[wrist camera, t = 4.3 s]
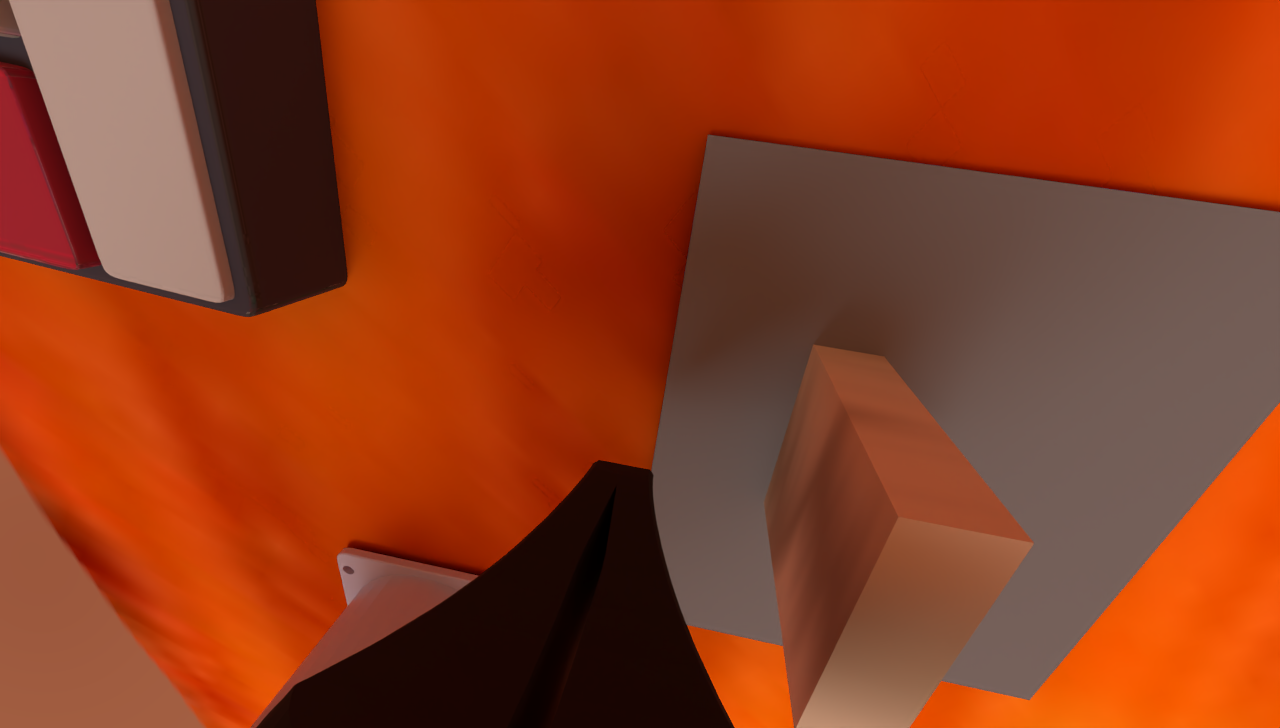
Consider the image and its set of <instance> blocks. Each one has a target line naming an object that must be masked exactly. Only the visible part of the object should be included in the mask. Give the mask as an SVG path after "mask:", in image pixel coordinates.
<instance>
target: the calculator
mask: <svg viewBox="0 0 1280 728" xmlns="http://www.w3.org/2000/svg"><path fill="white" fill-rule="evenodd" d="M0 256H3V257H7V258H11V259H15V260H19V261H23V262H27V263H31V264H35V265H39V266H43V267H47V268H51V269H55V270H59V271H63V272H67V273H71V274H75V275H79V276H83V277H87V278H91V279H95V280H99V281H103V282H107V283H111V284H115V285H119V286H123V287H127V288H131V289H135V290H139V291H143V292H147V293H151V294H155V295H159V296H163V297H167V298H171V299H175V300H179V301H183V302H187V303H191V304H195V305H199V306H203V307H207V308H211V309H215V310H219V311H223V312H227V313H231V314H235V315H239V316H244V317H251V316H255V315H258V314H262V313H265V312H268V311H271V310H274V309H277V308H280V307H283V306H286V305H289V304H292V303H295V302H298V301H301V300H304V299H307V298H310V297H313V296H316V295H319V294H322V293H325V292H328V291H330V290H333V289H336V288H339V287H342V286H344V285H345V284H346V282H347V267H346V258H345V250H344V241H343V232H342V224H341V215H340V206H339V198H338V189H337V181H336V172H335V163H334V155H333V146H332V137H331V129H330V120H329V111H328V103H327V94H326V86H325V77H324V68H323V60H322V51H321V42H320V34H319V25H318V17H317V8H316V0H0Z"/></svg>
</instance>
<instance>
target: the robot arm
mask: <svg viewBox="0 0 1280 728" xmlns="http://www.w3.org/2000/svg"><path fill="white" fill-rule="evenodd" d="M653 476H654V475H653V473H652V472H651V471H650V470H648V469H643V468H637V467H632V466H627V465H622V464H617V463H611V462H606V461H601V460H598V461H597V462H595V463H594V464H593V465H592V466H591V468H590V469H589V471H588V472H587V473H586V474H585V476H584V477H583V478H582V479H581V481H580V482H579V483H578V484H577V485H576V486H575V488H574V489H573V490H572V491H571V492H570V493H569V494H568V496H567V497H566V498H565V499H564V500H563V501H562V502H561V503H560V504H559V505H558V506H557V507H556V508H555V509H554V510H553V511H552V512H551V513H550V514H549V516H548V517H547V518H546V519H544V520H543V521H542V522H541V523H540V524H539V525H538V526H537V527H536V528H535V529H534V530H533V531H532V532H531V533H530V534H528V535H527V536H526V537H525V538H524V539H523V540H522V541H521V542H520V543H519V544H518V545H516V546H515V547H514V548H513V549H512V550H511V551H509V552H508V553H507V554H506V555H505V556H503V557H502V558H501V559H500V560H499V561H497V562H496V563H495V564H493V565H492V566H491V567H490V568H488V569H487V570H486V571H485V572H483V573H482V574H481V575H479V576H478V575H474V574H469V573H465V572H460V571H456V570H451V569H446V568H442V567H437V566H433V565H428V564H424V563H419V562H414V561H410V560H405V559H401V558H396V557H392V556H387V555H382V554H378V553H373V552H369V551H364V550H360V549H355V548H344V549H343V550H342V551H341V552H340V553H339V554H338V556H337V561H338V566H339V570H340V575H341V579H342V583H343V588H344V592H345V597H346V601H347V608H346V609H345V610H344V611H343V613H342V614H341V615H340V616H339V618H338V619H337V620H336V621H335V623H334V624H333V625H332V626H331V628H330V629H329V630H328V631H327V633H326V634H325V635H324V636H323V638H322V639H321V640H320V641H319V643H318V644H317V645H316V646H315V648H314V649H313V650H312V651H311V653H310V654H309V655H308V656H307V658H306V659H305V660H304V661H303V663H302V664H301V665H300V666H299V668H298V669H297V670H296V671H295V673H294V674H293V675H292V676H291V678H290V679H289V680H288V681H287V683H286V684H285V685H284V686H283V688H282V689H281V690H280V691H279V692H278V694H277V695H276V696H275V697H274V699H273V700H272V701H271V702H270V704H269V705H268V706H267V707H266V709H265V710H264V711H263V712H262V714H261V715H260V716H259V717H258V719H257V720H256V721H255V722H254V724H253V725H252V726H251V727H250V728H734V726H733V724H732V722H731V720H730V718H729V716H728V714H727V712H726V710H725V709H724V707H723V705H722V703H721V701H720V699H719V697H718V695H717V692H716V690H715V688H714V686H713V684H712V682H711V680H710V677H709V675H708V673H707V671H706V669H705V667H704V664H703V662H702V660H701V658H700V656H699V654H698V652H697V649H696V647H695V645H694V642H693V640H692V637H691V635H690V632H689V630H688V627H687V625H686V622H685V619H684V617H683V614H682V611H681V609H680V606H679V603H678V600H677V597H676V594H675V591H674V588H673V585H672V582H671V579H670V575H669V572H668V568H667V565H666V561H665V557H664V553H663V549H662V545H661V540H660V536H659V531H658V526H657V521H656V515H655V508H654V499H653Z"/></svg>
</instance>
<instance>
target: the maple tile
mask: <svg viewBox="0 0 1280 728" xmlns="http://www.w3.org/2000/svg"><path fill="white" fill-rule="evenodd" d="M764 508H765V515H766V523H767V530H768V538H769V545H770V552H771V560H772V567H773V574H774V582H775V589H776V597H777V604H778V611H779V619H780V626H781V633H782V641H783V648H784V656H785V663H786V670H787V678H788V685H789V693H790V700H791V707H792V715H793V722H794V728H909V727H910V726H911V724H912V723H913V722H914V720H915V719H916V717H917V716H918V714H919V713H920V711H921V710H922V708H923V707H924V705H925V704H926V702H927V701H928V699H929V698H930V696H931V695H932V693H933V692H934V691H935V689H936V688H937V686H938V685H939V683H940V682H941V680H942V679H943V677H944V676H945V674H946V673H947V671H948V670H949V668H950V667H951V665H952V664H953V663H954V661H955V660H956V658H957V657H958V655H959V654H960V652H961V651H962V649H963V648H964V646H965V645H966V643H967V642H968V640H969V639H970V637H971V636H972V634H973V633H974V632H975V630H976V629H977V627H978V626H979V624H980V623H981V621H982V620H983V618H984V617H985V615H986V614H987V612H988V611H989V609H990V608H991V606H992V605H993V603H994V602H995V601H996V599H997V598H998V596H999V595H1000V593H1001V592H1002V590H1003V589H1004V587H1005V586H1006V584H1007V583H1008V581H1009V580H1010V578H1011V577H1012V575H1013V574H1014V572H1015V571H1016V570H1017V568H1018V567H1019V565H1020V564H1021V562H1022V561H1023V559H1024V558H1025V556H1026V555H1027V553H1028V552H1029V550H1030V549H1031V547H1032V546H1033V544H1034V542H1033V541H1032V540H1031V539H1030V537H1029V536H1028V535H1027V534H1026V532H1025V531H1024V530H1023V529H1022V527H1021V526H1020V525H1019V524H1018V522H1017V521H1016V520H1015V519H1014V517H1013V516H1012V515H1011V514H1010V512H1009V511H1008V510H1007V509H1006V507H1005V506H1004V505H1003V504H1002V502H1001V501H1000V500H999V499H998V498H997V496H996V495H995V494H994V493H993V491H992V490H991V489H990V488H989V486H988V485H987V484H986V483H985V481H984V480H983V479H982V478H981V476H980V475H979V474H978V473H977V471H976V470H975V469H974V468H973V466H972V465H971V464H970V463H969V461H968V460H967V459H966V458H965V456H964V455H963V454H962V453H961V452H960V450H959V449H958V448H957V447H956V445H955V444H954V443H953V442H952V440H951V439H950V438H949V437H948V435H947V434H946V433H945V432H944V430H943V429H942V428H941V427H940V425H939V424H938V423H937V422H936V420H935V419H934V418H933V417H932V415H931V414H930V413H929V412H928V410H927V409H926V408H925V407H924V406H923V404H922V403H921V402H920V401H919V399H918V398H917V397H916V396H915V394H914V393H913V392H912V391H911V389H910V388H909V387H908V386H907V384H906V383H905V382H904V381H903V379H902V378H901V377H900V376H899V374H898V373H897V372H896V371H895V369H894V368H893V367H892V366H891V364H890V363H889V362H888V361H887V360H886V358H885V357H884V356H878V355H873V354H867V353H861V352H855V351H849V350H843V349H837V348H831V347H825V346H819V345H813V347H812V350H811V353H810V357H809V360H808V363H807V366H806V369H805V373H804V376H803V379H802V382H801V385H800V388H799V392H798V395H797V398H796V401H795V404H794V408H793V411H792V414H791V417H790V420H789V424H788V427H787V430H786V433H785V436H784V440H783V443H782V446H781V449H780V452H779V456H778V459H777V462H776V465H775V468H774V472H773V475H772V478H771V481H770V484H769V488H768V491H767V494H766V497H765V500H764Z"/></svg>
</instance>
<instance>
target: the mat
mask: <svg viewBox="0 0 1280 728" xmlns="http://www.w3.org/2000/svg"><path fill="white" fill-rule="evenodd" d="M813 345H819V346H825V347H831V348H837V349H843V350H849V351H855V352H861V353H867V354H873V355H878V356H884V357H885V358H886V360H887V361H888V362H889V363H890V364H891V366H892V367H893V368H894V369H895V371H896V372H897V373H898V374H899V376H900V377H901V378H902V379H903V381H904V382H905V383H906V384H907V386H908V387H909V388H910V389H911V391H912V392H913V393H914V394H915V396H916V397H917V398H918V399H919V401H920V402H921V403H922V404H923V406H924V407H925V408H926V409H927V410H928V412H929V413H930V414H931V415H932V417H933V418H934V419H935V420H936V422H937V423H938V424H939V425H940V427H941V428H942V429H943V430H944V432H945V433H946V434H947V435H948V437H949V438H950V439H951V440H952V442H953V443H954V444H955V445H956V447H957V448H958V449H959V450H960V452H961V453H962V454H963V455H964V456H965V458H966V459H967V460H968V461H969V463H970V464H971V465H972V466H973V468H974V469H975V470H976V471H977V473H978V474H979V475H980V476H981V478H982V479H983V480H984V481H985V483H986V484H987V485H988V486H989V488H990V489H991V490H992V491H993V493H994V494H995V495H996V496H997V498H998V499H999V500H1000V501H1001V502H1002V504H1003V505H1004V506H1005V507H1006V509H1007V510H1008V511H1009V512H1010V514H1011V515H1012V516H1013V517H1014V519H1015V520H1016V521H1017V522H1018V524H1019V525H1020V526H1021V527H1022V529H1023V530H1024V531H1025V532H1026V534H1027V535H1028V536H1029V537H1030V539H1031V540H1032V541H1033V542H1034V544H1033V546H1032V547H1031V549H1030V550H1029V552H1028V553H1027V555H1026V556H1025V558H1024V559H1023V561H1022V562H1021V564H1020V565H1019V567H1018V568H1017V570H1016V571H1015V572H1014V574H1013V575H1012V577H1011V578H1010V580H1009V581H1008V583H1007V584H1006V586H1005V587H1004V589H1003V590H1002V592H1001V593H1000V595H999V596H998V598H997V599H996V601H995V602H994V603H993V605H992V606H991V608H990V609H989V611H988V612H987V614H986V615H985V617H984V618H983V620H982V621H981V623H980V624H979V626H978V627H977V629H976V630H975V632H974V633H973V634H972V636H971V637H970V639H969V640H968V642H967V643H966V645H965V646H964V648H963V649H962V651H961V652H960V654H959V655H958V657H957V658H956V660H955V661H954V663H953V664H952V665H951V667H950V668H949V670H948V671H947V673H946V674H945V676H944V677H943V679H942V680H941V681H945V682H950V683H954V684H959V685H963V686H968V687H972V688H977V689H982V690H986V691H991V692H995V693H1000V694H1004V695H1009V696H1013V697H1018V698H1022V699H1027V700H1030V699H1031V697H1032V696H1033V695H1034V694H1035V693H1036V691H1037V690H1038V689H1039V688H1040V687H1041V686H1042V684H1043V683H1044V682H1045V681H1046V680H1047V678H1048V677H1049V676H1050V675H1051V674H1052V672H1053V671H1054V670H1055V669H1056V668H1057V667H1058V665H1059V664H1060V663H1061V662H1062V661H1063V659H1064V658H1065V657H1066V656H1067V655H1068V653H1069V652H1070V651H1071V650H1072V649H1073V647H1074V646H1075V645H1076V644H1077V643H1078V642H1079V640H1080V639H1081V638H1082V637H1083V636H1084V634H1085V633H1086V632H1087V631H1088V630H1089V628H1090V627H1091V626H1092V625H1093V624H1094V623H1095V621H1096V620H1097V619H1098V618H1099V617H1100V615H1101V614H1102V613H1103V612H1104V611H1105V609H1106V608H1107V607H1108V606H1109V605H1110V603H1111V602H1112V601H1113V600H1114V599H1115V598H1116V596H1117V595H1118V594H1119V593H1120V592H1121V590H1122V589H1123V588H1124V587H1125V586H1126V584H1127V583H1128V582H1129V581H1130V580H1131V579H1132V577H1133V576H1134V575H1135V574H1136V573H1137V571H1138V570H1139V569H1140V568H1141V567H1142V565H1143V564H1144V563H1145V562H1146V561H1147V559H1148V558H1149V557H1150V556H1151V555H1152V554H1153V552H1154V551H1155V550H1156V549H1157V548H1158V546H1159V545H1160V544H1161V543H1162V542H1163V540H1164V539H1165V538H1166V537H1167V536H1168V535H1169V533H1170V532H1171V531H1172V530H1173V529H1174V527H1175V526H1176V525H1177V524H1178V523H1179V521H1180V520H1181V519H1182V518H1183V517H1184V515H1185V514H1186V513H1187V512H1188V511H1189V510H1190V508H1191V507H1192V506H1193V505H1194V504H1195V502H1196V501H1197V500H1198V499H1199V498H1200V496H1201V495H1202V494H1203V493H1204V492H1205V491H1206V489H1207V488H1208V487H1209V486H1210V485H1211V483H1212V482H1213V481H1214V480H1215V479H1216V477H1217V476H1218V475H1219V474H1220V473H1221V471H1222V470H1223V469H1224V468H1225V467H1226V466H1227V464H1228V463H1229V462H1230V461H1231V460H1232V458H1233V457H1234V456H1235V455H1236V454H1237V452H1238V451H1239V450H1240V449H1241V448H1242V447H1243V445H1244V444H1245V443H1246V442H1247V441H1248V439H1249V438H1250V437H1251V436H1252V435H1253V433H1254V432H1255V431H1256V430H1257V429H1258V427H1259V426H1260V425H1261V424H1262V423H1263V422H1264V420H1265V419H1266V418H1267V417H1268V416H1269V414H1270V413H1271V412H1272V411H1273V410H1274V408H1275V407H1276V406H1277V405H1278V404H1279V403H1280V212H1275V211H1268V210H1261V209H1253V208H1246V207H1239V206H1231V205H1224V204H1216V203H1209V202H1202V201H1194V200H1187V199H1180V198H1172V197H1165V196H1157V195H1150V194H1143V193H1135V192H1128V191H1121V190H1113V189H1106V188H1098V187H1091V186H1084V185H1076V184H1069V183H1062V182H1054V181H1047V180H1039V179H1032V178H1025V177H1017V176H1010V175H1003V174H995V173H988V172H980V171H973V170H966V169H958V168H951V167H944V166H936V165H929V164H921V163H914V162H907V161H899V160H892V159H885V158H877V157H870V156H862V155H855V154H848V153H840V152H833V151H826V150H818V149H811V148H803V147H796V146H789V145H781V144H774V143H767V142H759V141H752V140H744V139H737V138H730V137H722V136H715V135H708V138H707V144H706V150H705V156H704V161H703V167H702V173H701V179H700V185H699V191H698V197H697V203H696V209H695V215H694V221H693V227H692V233H691V239H690V245H689V251H688V256H687V262H686V268H685V274H684V280H683V286H682V292H681V298H680V304H679V310H678V316H677V322H676V328H675V334H674V340H673V346H672V352H671V357H670V363H669V369H668V375H667V381H666V387H665V393H664V399H663V405H662V411H661V417H660V423H659V429H658V435H657V441H656V447H655V453H654V458H653V464H652V470H651V472H652V473H653V475H654V476H653V499H654V508H655V515H656V521H657V526H658V531H659V536H660V540H661V545H662V549H663V553H664V557H665V561H666V565H667V568H668V572H669V575H670V579H671V582H672V585H673V588H674V591H675V594H676V597H677V600H678V603H679V606H680V609H681V611H682V614H683V617H684V619H685V622H686V625H690V626H695V627H699V628H704V629H708V630H713V631H717V632H722V633H726V634H731V635H736V636H740V637H745V638H749V639H754V640H758V641H763V642H767V643H772V644H777V645H781V646H783V641H782V633H781V626H780V619H779V611H778V604H777V597H776V589H775V582H774V574H773V567H772V560H771V552H770V545H769V538H768V530H767V523H766V515H765V508H764V500H765V497H766V494H767V491H768V488H769V484H770V481H771V478H772V475H773V472H774V468H775V465H776V462H777V459H778V456H779V452H780V449H781V446H782V443H783V440H784V436H785V433H786V430H787V427H788V424H789V420H790V417H791V414H792V411H793V408H794V404H795V401H796V398H797V395H798V392H799V388H800V385H801V382H802V379H803V376H804V373H805V369H806V366H807V363H808V360H809V357H810V353H811V350H812V347H813Z"/></svg>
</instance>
